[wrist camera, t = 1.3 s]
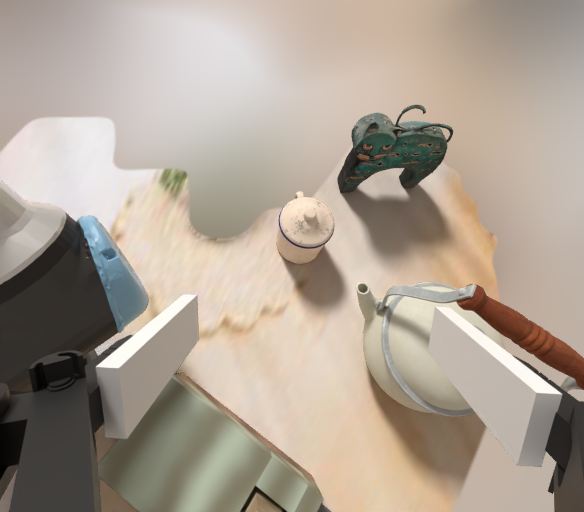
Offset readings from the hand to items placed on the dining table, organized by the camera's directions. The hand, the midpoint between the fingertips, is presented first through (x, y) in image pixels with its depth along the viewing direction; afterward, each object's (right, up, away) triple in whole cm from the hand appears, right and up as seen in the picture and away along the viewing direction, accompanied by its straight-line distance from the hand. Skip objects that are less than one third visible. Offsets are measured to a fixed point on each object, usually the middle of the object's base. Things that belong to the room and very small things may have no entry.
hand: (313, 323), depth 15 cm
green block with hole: (-11, -25, +23) cm, 36 cm away
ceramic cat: (+17, +20, +44) cm, 51 cm away
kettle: (+17, -11, +33) cm, 39 cm away
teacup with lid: (0, +7, +37) cm, 38 cm away
